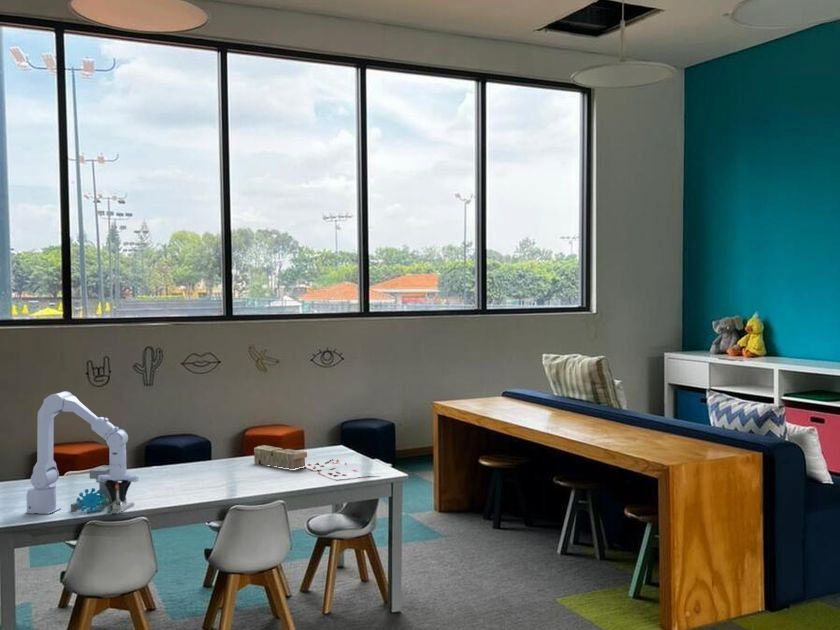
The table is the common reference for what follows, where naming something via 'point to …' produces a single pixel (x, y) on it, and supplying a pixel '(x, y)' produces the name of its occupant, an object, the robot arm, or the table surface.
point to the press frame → (103, 489)
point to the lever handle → (118, 498)
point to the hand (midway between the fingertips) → (118, 500)
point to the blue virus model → (92, 500)
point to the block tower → (279, 457)
